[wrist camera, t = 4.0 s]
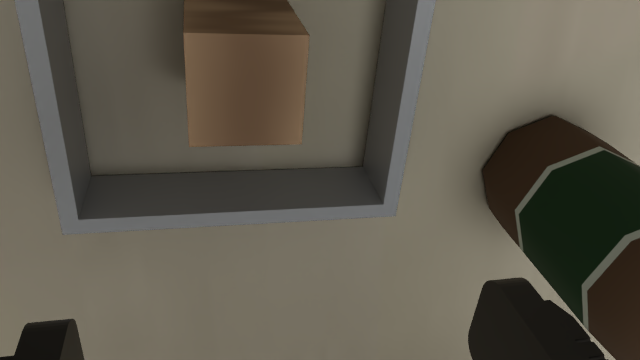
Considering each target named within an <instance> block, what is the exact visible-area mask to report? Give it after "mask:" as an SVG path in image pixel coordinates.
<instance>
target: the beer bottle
mask: <svg viewBox="0 0 640 360" xmlns="http://www.w3.org/2000/svg"><path fill="white" fill-rule="evenodd" d="M483 176H484V182H485V188H486V194H487V199H488V205H489V209H490V210H491V211H492V213H493V214H494V216H495V217H496V219H497V220H498V221H499V223H500V224H501V226H502V227H503V228H504V229H505V230H506V232H507V233H508V234H509V235H510V237H511V238H512V239H513V240H514V241H515V243H516V244H517V245H518V246H519V247H520V249H521V250H522V251H523V252H524V254H525V255H526V256H527V257H528V258H529V260H530V261H531V262H532V263H533V264H534V266H535V267H536V268H537V269H538V271H539V272H540V273H541V274H542V275H543V277H544V278H545V279H546V280H547V281H548V283H549V284H550V285H551V286H552V287H553V289H554V290H555V291H556V292H557V294H558V295H559V296H560V297H561V298H562V300H563V301H564V302H565V303H566V304H567V306H568V307H569V308H570V309H571V311H572V312H573V313H574V314H575V315H576V317H577V318H578V319H579V320H580V321H581V323H582V324H583V325H584V326H585V328H586V329H587V330H588V331H589V332H590V333H591V334H592V335H593V336H594V337H595V338H596V339H597V341H598V342H599V343H600V344H601V345H602V346H603V347H604V348H605V349H606V350H607V351H608V352H609V353H610V354H611V355H612V356H613V357H614V358H615V359H616V360H640V166H639V165H637V164H636V163H634V162H633V161H631V160H630V159H629V158H627V157H626V156H624V155H623V154H622V153H620V152H619V151H617V150H616V149H615V148H613V147H612V146H610V145H609V144H608V143H606V142H604V141H603V140H601V139H599V138H598V137H596V136H594V135H593V134H591V133H589V132H588V131H586V130H583V129H581V128H579V127H577V126H575V125H573V124H571V123H569V122H567V121H565V120H563V119H561V118H559V117H557V116H550V117H547V118H545V119H542V120H540V121H537V122H534V123H532V124H529V125H527V126H524V127H522V128H519V129H517V130H514V131H511V132H509V133H508V134H507V136H506V137H505V138H504V140H503V141H502V143H501V144H500V146H499V147H498V148H497V150H496V151H495V153H494V154H493V156H492V157H491V159H490V160H489V161H488V163H487V164H486V166H485V167H484V169H483Z"/></svg>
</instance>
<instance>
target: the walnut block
mask: <svg viewBox="0 0 640 360" xmlns="http://www.w3.org/2000/svg"><path fill="white" fill-rule="evenodd" d="M183 36H184V56H185V76H186V96H187V116H188V136H189V147H204V146H246V145H289V144H302V133H303V119H304V105H305V90H306V76H307V62H308V48H309V34H308V32H307V31H306V29H305V28H304V26H303V25H302V23H301V21H300V20H299V18H298V17H297V15H296V14H295V12H294V10H293V9H292V7H291V6H290V4H289V3H288V1H287V0H184V27H183Z"/></svg>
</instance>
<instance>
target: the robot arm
mask: <svg viewBox="0 0 640 360" xmlns="http://www.w3.org/2000/svg"><path fill="white" fill-rule="evenodd" d="M468 343H469V349H470V353H471V357H472V359H473V360H606V359H605V358H604V354H603V353H602V351H601V350H600V349H599V348H598V347H597V345H596V344H595V343H594V342H591V341H590V337H589V336H588V334H587V333H586V332H585V331H584V330H583V328H582V327H581V326H580V325H579V323H578V322H577V321H576V320H575V319H574V317H572V316H571V315H570V314H568V313H567V312H566V311H564V310H563V309H561V308H560V307H559V306H557V305H556V304H555V303H553V302H552V301H550V300H546V301H544V300H543V299H542V298H541V296H540V295H539V294H538V293H537V291H536V290H535V289H534V287H533V286H532V285H531V284H530V283H529V281H527V280H526V279H524V278H511V279H501V280H490V281H487V282H486V283H485V284H484V285H483V288H482V291H481V294H480V297H479V300H478V304H477V307H476V310H475V313H474V316H473V320H472V323H471V326H470V329H469V334H468ZM0 360H84V356H83V352H82V347H81V343H80V338H79V334H78V329H77V325H76V322H75V320H74V319H65V320H55V321H44V322H34V323H27V324H26V325H25V327H24V328H23V331H22V334H21V337H20V340H19V343H18V346H17V349H16V352H15V355H14V356H7V357H0ZM607 360H608V359H607Z"/></svg>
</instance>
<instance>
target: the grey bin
mask: <svg viewBox="0 0 640 360" xmlns="http://www.w3.org/2000/svg"><path fill="white" fill-rule="evenodd" d="M435 1H436V0H386V6H385V13H384V20H383V27H382V35H381V42H380V49H379V56H378V63H377V70H376V77H375V84H374V92H373V99H372V106H371V113H370V120H369V127H368V134H367V141H366V149H365V156H364V163H363V167H340V168H311V169H282V170H252V171H223V172H194V173H165V174H135V175H106V176H91V172H90V166H89V159H88V153H87V147H86V141H85V135H84V128H83V122H82V116H81V110H80V103H79V97H78V91H77V85H76V79H75V72H74V66H73V60H72V54H71V47H70V41H69V35H68V29H67V23H66V16H65V10H64V4H63V0H15V5H16V10H17V15H18V20H19V25H20V29H21V34H22V39H23V44H24V49H25V54H26V59H27V63H28V68H29V73H30V78H31V83H32V88H33V93H34V97H35V102H36V107H37V112H38V117H39V122H40V127H41V131H42V136H43V141H44V146H45V151H46V156H47V161H48V165H49V170H50V175H51V180H52V185H53V190H54V195H55V199H56V204H57V209H58V214H59V219H60V224H61V229H62V233H63V235H65V234H83V233H101V232H119V231H137V230H155V229H173V228H191V227H209V226H227V225H245V224H263V223H281V222H299V221H317V220H335V219H353V218H371V217H389V216H396V211H397V205H398V200H399V195H400V189H401V184H402V179H403V173H404V168H405V162H406V157H407V152H408V146H409V141H410V136H411V130H412V125H413V119H414V114H415V109H416V103H417V98H418V93H419V87H420V82H421V77H422V71H423V66H424V60H425V55H426V50H427V44H428V39H429V34H430V28H431V23H432V18H433V12H434V7H435Z"/></svg>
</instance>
